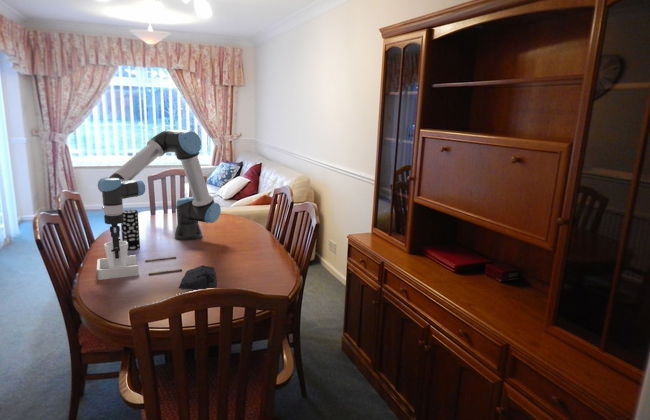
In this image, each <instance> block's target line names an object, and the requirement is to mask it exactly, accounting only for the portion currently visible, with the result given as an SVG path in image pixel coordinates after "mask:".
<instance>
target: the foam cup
mask: <svg viewBox="0 0 650 420" xmlns="http://www.w3.org/2000/svg"><path fill="white" fill-rule="evenodd" d="M103 245H104V252H105V255H106V258H107V259H108V264H109V268H115V267H124V266H128V265H127V256H128V252H129V251H128V242H126V241H122V240H121V241H119V248H120V257H121V265H117V266H114V257H113V252H111V250H113V240H112V241H108V242H105V243H104V244H103ZM114 249H115V248H114Z"/></svg>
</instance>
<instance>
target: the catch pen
mask: <svg viewBox="0 0 650 420" xmlns="http://www.w3.org/2000/svg"><path fill="white" fill-rule="evenodd" d="M96 263H97V264H96V274H97V281H101V280H110V279H117V278H127V277H133V276H139V275H140V273H139V264H138V263H137V255H136V254H133V255H127V266H124V267H115V268H109V264H108V259H107V257H105V258H104V257H103V258H97V261H96Z"/></svg>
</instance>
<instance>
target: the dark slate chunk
mask: <svg viewBox="0 0 650 420" xmlns="http://www.w3.org/2000/svg"><path fill="white" fill-rule="evenodd" d="M215 270H216V269H215V267H214V266H210V265H209V266H208V265H207V266H206V265H199V266H196V267H194V268H191V269H188V270H186V271H185V273H184V276H183V277H182V279H181V281H180V284H179V286H178V289H181V290H205V289H211V288H216V287H217V278H216V277H217V276H216V275H217V274H216V271H215Z"/></svg>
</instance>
